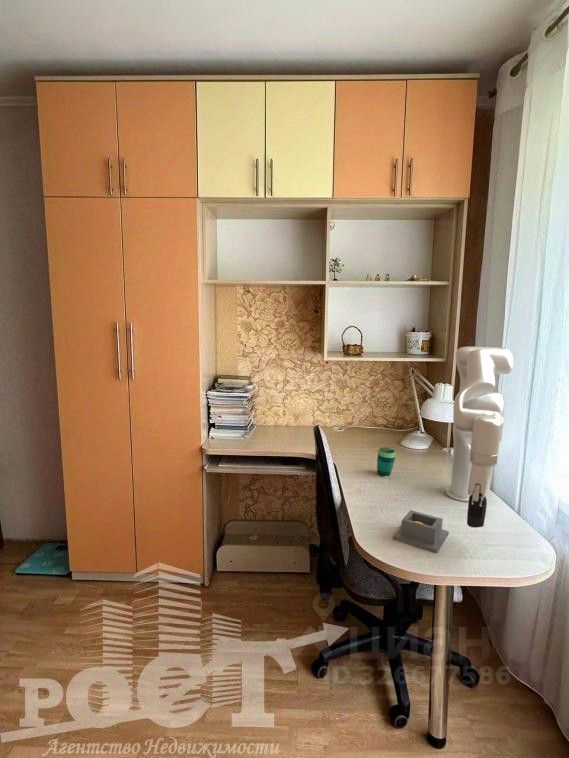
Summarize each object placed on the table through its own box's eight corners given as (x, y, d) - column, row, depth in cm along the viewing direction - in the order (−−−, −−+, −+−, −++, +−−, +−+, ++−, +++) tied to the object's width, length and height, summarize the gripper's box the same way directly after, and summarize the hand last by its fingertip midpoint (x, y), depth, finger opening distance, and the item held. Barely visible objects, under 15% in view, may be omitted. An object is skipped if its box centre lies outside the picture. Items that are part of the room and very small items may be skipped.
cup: (388, 471, 198) (390, 445, 196) (398, 477, 190) (400, 451, 189) (372, 472, 196) (374, 447, 194) (382, 479, 188) (383, 453, 186)
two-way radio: (480, 522, 136) (484, 477, 133) (488, 529, 132) (493, 483, 129) (463, 523, 135) (468, 478, 132) (472, 531, 131) (476, 485, 128)
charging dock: (406, 521, 151) (408, 504, 150) (448, 534, 143) (450, 515, 142) (392, 539, 139) (393, 520, 138) (437, 553, 131) (438, 533, 130)
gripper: (475, 446, 138) (470, 499, 142) (464, 463, 124) (458, 521, 128) (501, 451, 134) (495, 505, 138) (492, 469, 120) (486, 529, 124)
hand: (477, 512), depth 133 cm, fingers closed on two-way radio, 4 cm apart
